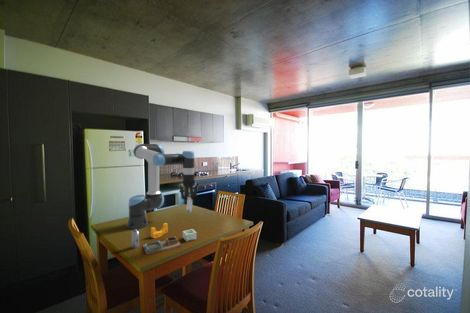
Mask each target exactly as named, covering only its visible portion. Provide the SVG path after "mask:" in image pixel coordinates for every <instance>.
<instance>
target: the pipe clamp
mask: <svg viewBox="0 0 470 313" xmlns="http://www.w3.org/2000/svg"><path fill="white" fill-rule="evenodd" d="M168 232H169V224H168V223H167V222H165V223H162V227H161V229H160V230H158V231H157V229H156V227H155V226H154V227H153V226H152V227H150V238H153V239H157V238H159V237H162V236H163V235H164V234H167V233H168Z"/></svg>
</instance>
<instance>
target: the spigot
mask: <svg viewBox="0 0 470 313" xmlns="http://www.w3.org/2000/svg"><path fill="white" fill-rule="evenodd" d="M131 248H132V249H133V250H134V249H138V248H140V230H138V229H132V231H131Z"/></svg>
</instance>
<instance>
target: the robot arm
mask: <svg viewBox="0 0 470 313" xmlns="http://www.w3.org/2000/svg"><path fill="white" fill-rule="evenodd" d="M132 153H133V156H134V157H135V158H137V159H139V160H145V161H146V162H147V164H148V166H147V168H148V170H147V172H148V173H147V176H148V177H147V178H148V179H147V181H148V184H147V185H148V190H147V192H146V195H145V194H137V195H135V196H134V195H133V196H132V197H129V199H128V203H127V204H128V220H127V223H126V229H129V230H135V229H137V230H138V229H142V228H143V229H144V228H145V227H147V226H148V225H149V221H148V218H147V216H146V211H152V210H156V209H159V208H161V207H163V206H164V202H165V197H164V194H163V193H162V191H161V190H160V167H162V166H163V167H164V166H179V165H181V166H182V174H183V175H182V183H180V184H178V187H179V190H180V196H181V197H180V198H181V199H182V200H184V201H183V202H184V205H185V210H186V211H187V210H188V200H187V197H188V193H190V194H189V195H190V197H191V209H192V210H193V204H194V202H195V201H194V200H195V199H197V193H198V187H199V185H200V184H199V183H198V182H196V181H195V151H193V150H183V151H182V153H165V150H164V147H163V145H161V144H159V143H139V144H137V145H136V146H135V147H134V148H133V152H132ZM183 187H184V188H183ZM188 191H189V192H188Z"/></svg>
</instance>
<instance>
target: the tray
mask: <svg viewBox="0 0 470 313" xmlns="http://www.w3.org/2000/svg"><path fill="white" fill-rule="evenodd" d="M182 238H183V240H184V241H185V242H186V243H187V242H190V241H191V242H192V241H195V240H197V231H195V229H193V228H191V229H187V230H183V231H182Z"/></svg>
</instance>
